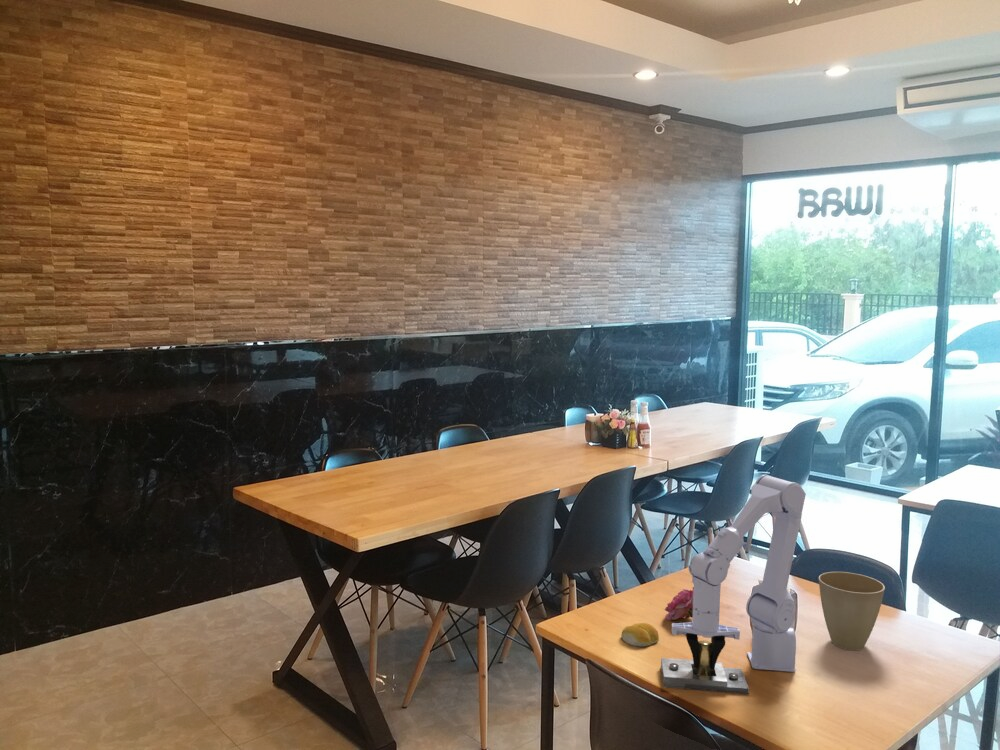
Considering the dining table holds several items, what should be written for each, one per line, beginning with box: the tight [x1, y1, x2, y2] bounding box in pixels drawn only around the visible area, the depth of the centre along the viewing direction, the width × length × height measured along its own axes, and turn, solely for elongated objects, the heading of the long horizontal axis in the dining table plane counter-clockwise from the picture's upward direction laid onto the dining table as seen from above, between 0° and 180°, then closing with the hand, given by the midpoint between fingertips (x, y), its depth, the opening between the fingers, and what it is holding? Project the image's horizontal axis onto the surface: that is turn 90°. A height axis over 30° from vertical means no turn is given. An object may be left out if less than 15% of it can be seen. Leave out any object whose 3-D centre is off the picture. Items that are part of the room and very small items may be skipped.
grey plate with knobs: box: [660, 657, 750, 695], centre depth 171 cm, size 18×9×3 cm, turn 82°
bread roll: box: [621, 622, 660, 647], centre depth 192 cm, size 8×9×4 cm
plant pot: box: [818, 571, 886, 651], centre depth 190 cm, size 15×15×16 cm
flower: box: [664, 586, 694, 621], centre depth 203 cm, size 11×10×10 cm
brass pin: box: [697, 640, 712, 676], centre depth 171 cm, size 3×3×7 cm
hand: (703, 666), depth 171 cm, fingers closed on brass pin, 3 cm apart
